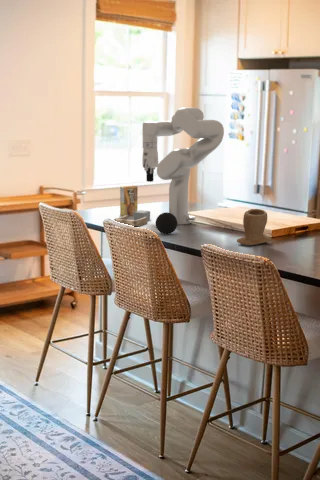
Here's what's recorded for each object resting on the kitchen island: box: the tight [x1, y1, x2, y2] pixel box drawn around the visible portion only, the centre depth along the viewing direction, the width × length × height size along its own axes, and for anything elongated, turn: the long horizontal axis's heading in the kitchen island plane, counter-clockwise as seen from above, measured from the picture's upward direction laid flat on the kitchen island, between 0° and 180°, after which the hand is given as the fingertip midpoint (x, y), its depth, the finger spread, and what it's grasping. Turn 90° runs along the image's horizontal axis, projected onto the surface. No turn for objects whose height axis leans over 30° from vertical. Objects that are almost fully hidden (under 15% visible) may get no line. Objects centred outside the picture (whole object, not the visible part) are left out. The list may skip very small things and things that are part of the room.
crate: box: [132, 210, 151, 222], centre depth 366 cm, size 6×8×5 cm
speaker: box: [155, 212, 178, 235], centre depth 328 cm, size 10×10×10 cm
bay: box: [113, 215, 148, 227], centre depth 355 cm, size 12×12×3 cm
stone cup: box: [236, 208, 272, 246], centre depth 305 cm, size 15×12×15 cm
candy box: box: [119, 185, 138, 217], centre depth 382 cm, size 9×4×15 cm, turn 129°
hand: (149, 181), depth 371 cm, fingers closed
